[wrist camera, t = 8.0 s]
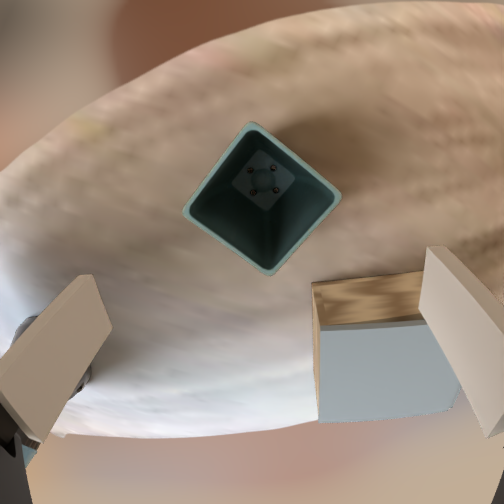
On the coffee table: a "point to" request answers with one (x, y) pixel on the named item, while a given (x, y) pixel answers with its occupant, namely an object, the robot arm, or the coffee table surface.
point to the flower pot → (261, 200)
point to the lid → (383, 372)
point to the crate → (363, 305)
